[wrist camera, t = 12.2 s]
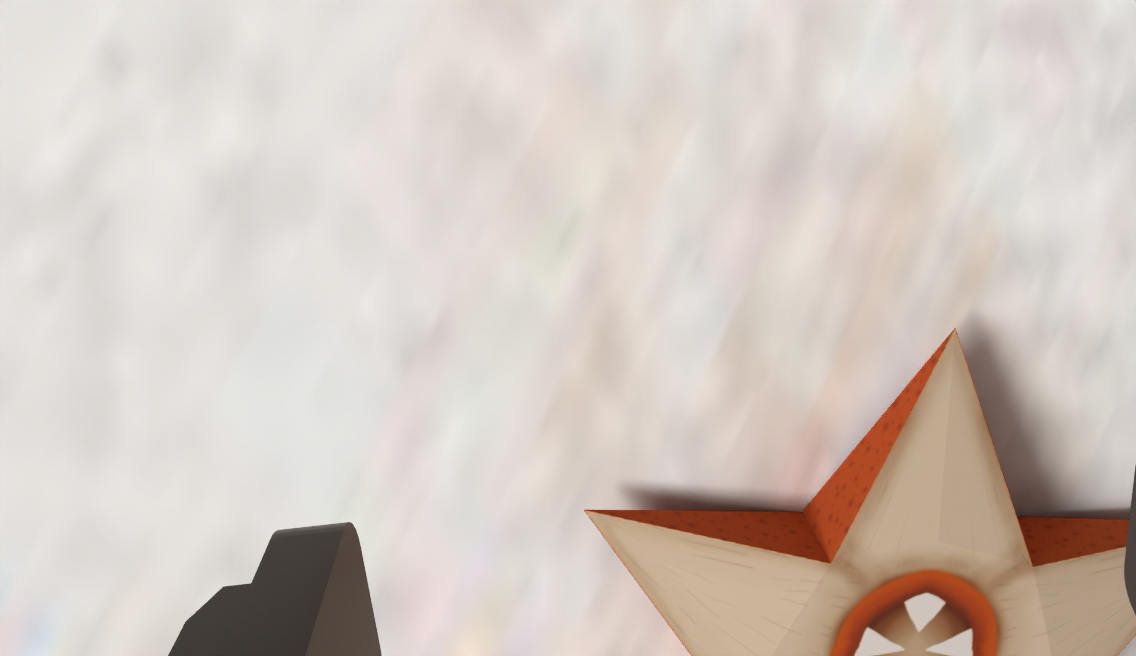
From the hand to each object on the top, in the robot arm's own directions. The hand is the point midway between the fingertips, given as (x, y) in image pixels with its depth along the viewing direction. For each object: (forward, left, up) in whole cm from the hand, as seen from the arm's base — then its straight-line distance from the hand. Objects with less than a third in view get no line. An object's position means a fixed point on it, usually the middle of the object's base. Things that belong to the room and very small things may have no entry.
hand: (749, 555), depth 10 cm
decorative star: (-11, +24, -29) cm, 40 cm away
